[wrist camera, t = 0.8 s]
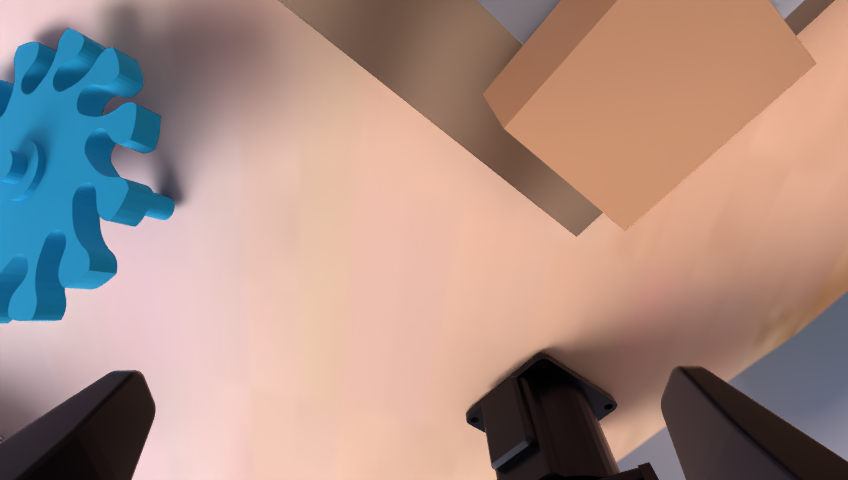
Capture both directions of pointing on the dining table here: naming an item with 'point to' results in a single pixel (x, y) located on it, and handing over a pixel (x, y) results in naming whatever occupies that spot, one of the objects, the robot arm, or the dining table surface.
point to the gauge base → (467, 73)
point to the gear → (67, 172)
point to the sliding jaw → (643, 91)
